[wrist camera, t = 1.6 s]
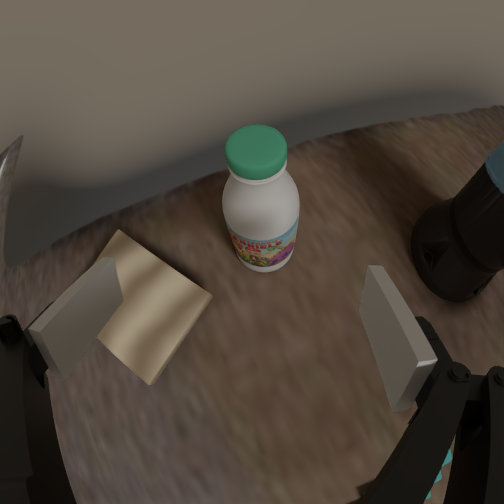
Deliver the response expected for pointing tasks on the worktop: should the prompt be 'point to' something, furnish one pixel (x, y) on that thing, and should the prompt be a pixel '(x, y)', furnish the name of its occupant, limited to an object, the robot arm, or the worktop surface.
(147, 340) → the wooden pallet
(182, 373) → the worktop surface
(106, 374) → the worktop surface
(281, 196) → the milk bottle
